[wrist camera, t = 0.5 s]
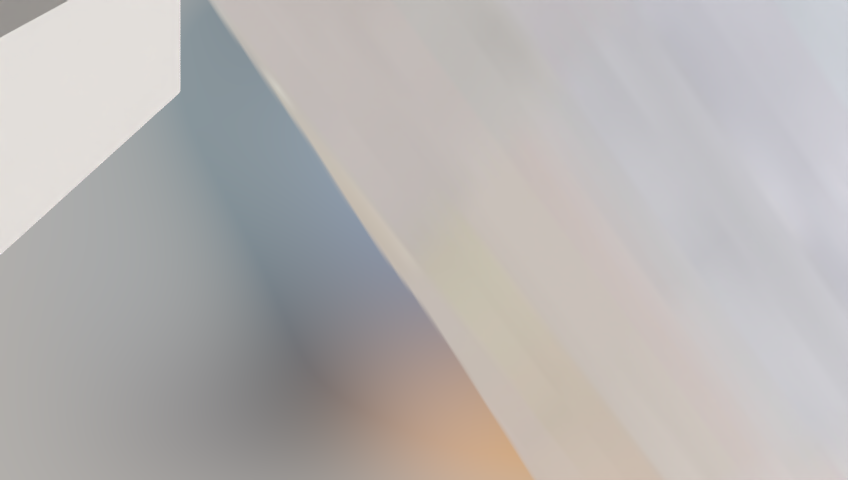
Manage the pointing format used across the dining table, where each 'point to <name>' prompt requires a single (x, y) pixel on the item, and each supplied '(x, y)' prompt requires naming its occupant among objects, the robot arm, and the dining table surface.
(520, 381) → the dining table surface
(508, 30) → the dining table surface
